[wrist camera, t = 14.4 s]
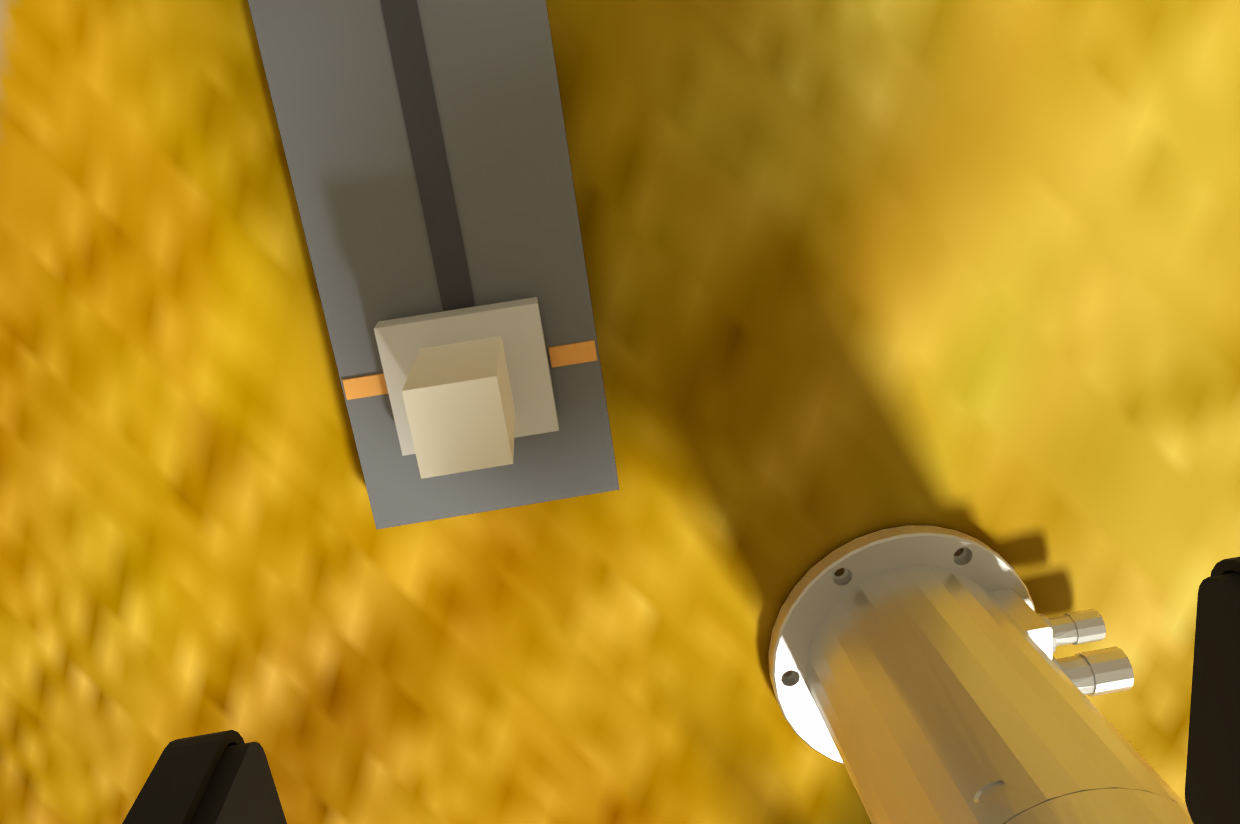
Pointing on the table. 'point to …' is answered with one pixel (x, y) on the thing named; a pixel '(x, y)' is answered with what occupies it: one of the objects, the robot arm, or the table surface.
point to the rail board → (438, 218)
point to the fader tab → (467, 384)
